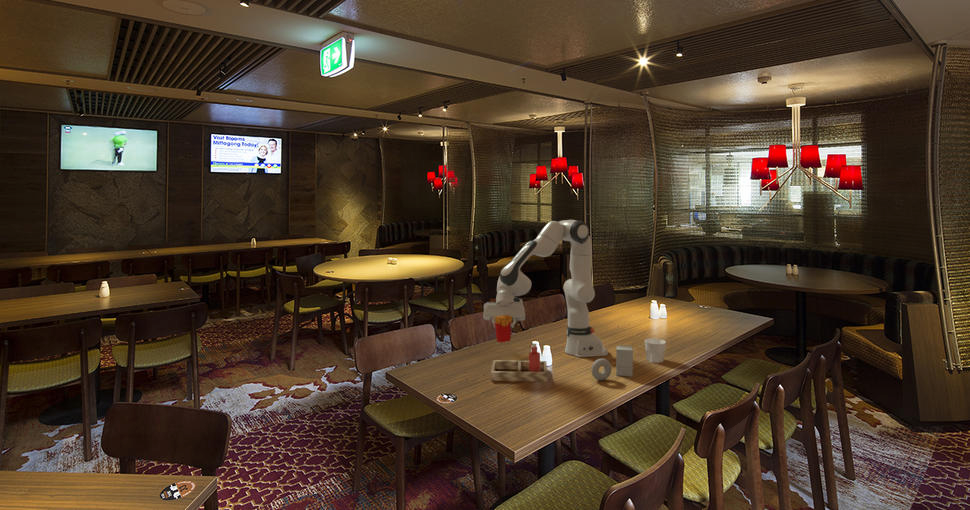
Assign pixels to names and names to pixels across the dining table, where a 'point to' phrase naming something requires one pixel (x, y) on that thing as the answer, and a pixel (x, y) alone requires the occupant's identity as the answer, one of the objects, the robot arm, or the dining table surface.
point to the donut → (606, 371)
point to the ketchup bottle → (534, 360)
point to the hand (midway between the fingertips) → (503, 327)
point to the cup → (654, 350)
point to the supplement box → (624, 360)
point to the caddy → (518, 375)
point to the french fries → (503, 328)
